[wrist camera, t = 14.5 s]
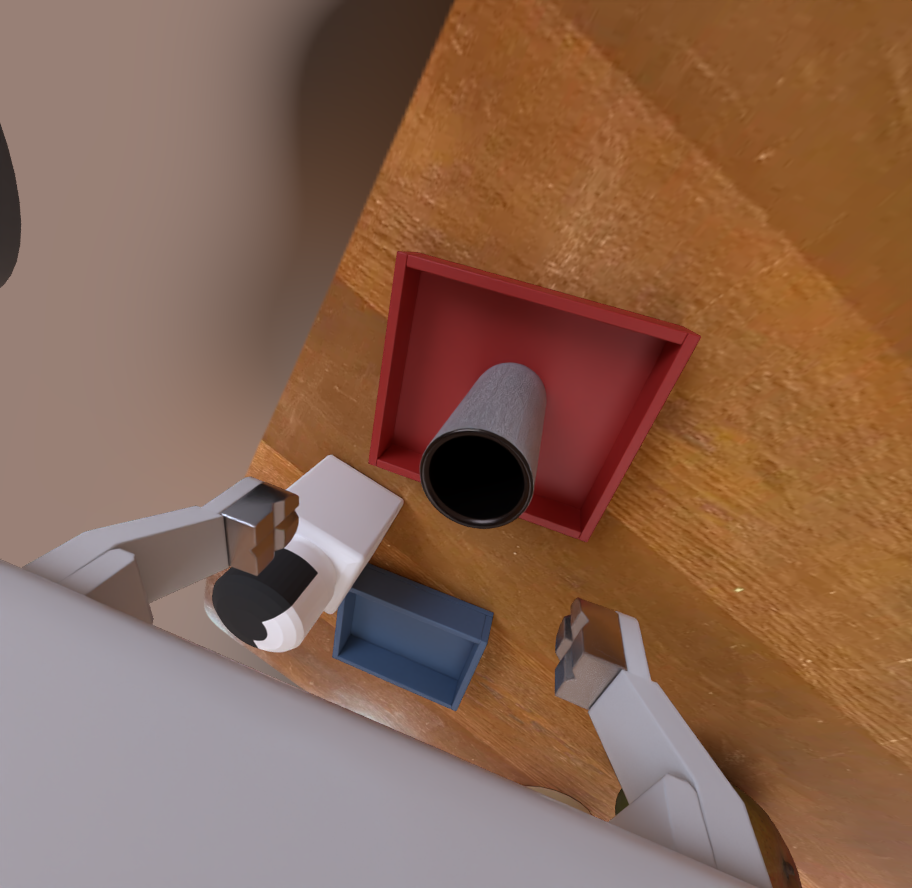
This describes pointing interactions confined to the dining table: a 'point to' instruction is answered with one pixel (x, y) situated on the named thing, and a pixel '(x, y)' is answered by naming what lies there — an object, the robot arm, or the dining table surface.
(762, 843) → the fruit
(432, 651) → the blue tray
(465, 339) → the red tray
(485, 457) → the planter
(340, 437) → the dining table surface
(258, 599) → the medicine bottle
